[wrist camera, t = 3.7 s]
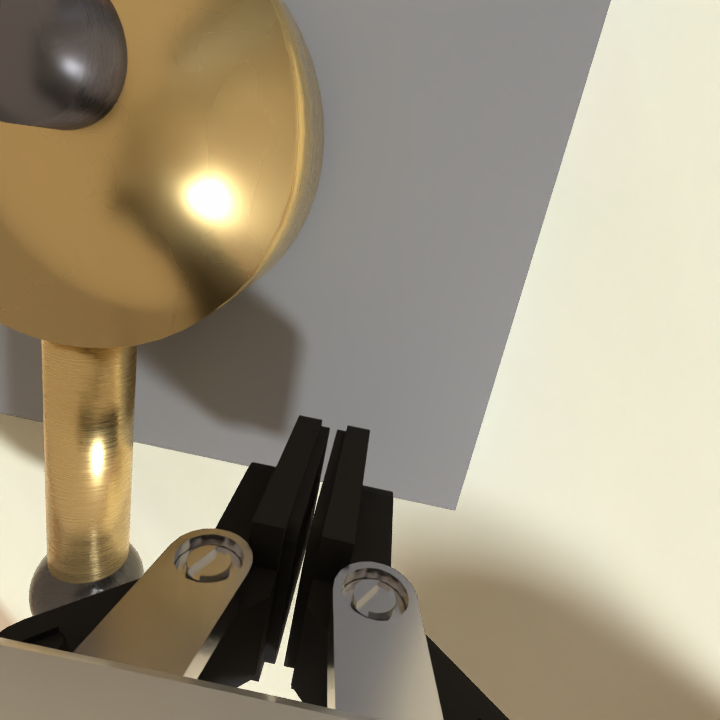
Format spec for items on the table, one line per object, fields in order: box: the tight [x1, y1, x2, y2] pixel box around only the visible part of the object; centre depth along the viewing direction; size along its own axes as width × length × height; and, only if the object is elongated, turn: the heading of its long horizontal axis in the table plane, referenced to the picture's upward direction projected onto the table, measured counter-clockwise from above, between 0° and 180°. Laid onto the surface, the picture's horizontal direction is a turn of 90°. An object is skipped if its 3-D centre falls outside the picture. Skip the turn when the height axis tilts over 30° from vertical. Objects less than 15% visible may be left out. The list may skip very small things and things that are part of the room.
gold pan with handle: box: [0, 0, 324, 616], centre depth 11 cm, size 16×8×4 cm, turn 169°
